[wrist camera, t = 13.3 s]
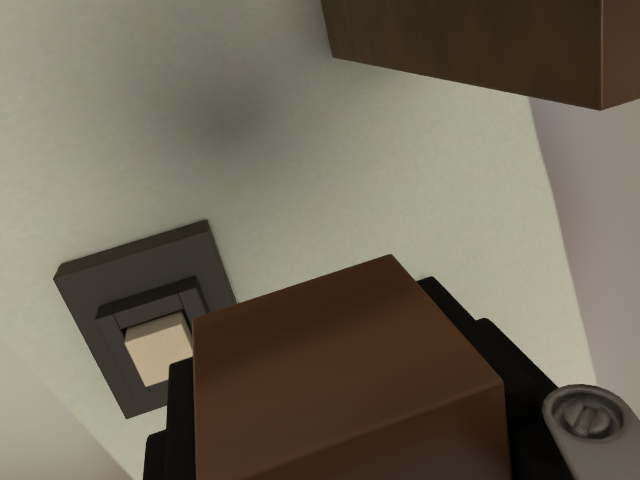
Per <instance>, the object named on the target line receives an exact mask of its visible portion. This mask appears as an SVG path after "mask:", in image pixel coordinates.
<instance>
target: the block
mask: <svg viewBox="0 0 640 480" xmlns="http://www.w3.org/2000/svg"><path fill="white" fill-rule="evenodd" d="M192 344H193V384H194V424H195V463H196V480H513V477H512V466H511V456H510V445H509V435H508V424H507V413H506V403H505V392H504V383H503V380H502V379H501V378H500V376H499V375H498V374H497V373H496V372H495V371H494V370H493V368H492V367H491V366H490V365H489V364H488V363H487V362H486V361H485V359H484V358H483V357H482V356H481V355H480V354H479V353H478V351H477V350H476V349H475V348H474V347H473V346H472V345H471V343H470V342H469V341H468V340H467V339H466V338H465V337H464V336H463V334H462V333H461V332H460V331H459V330H458V329H457V328H456V326H455V325H454V324H453V323H452V322H451V321H450V320H449V319H448V317H447V316H446V315H445V314H444V313H443V312H442V311H441V309H440V308H439V307H438V306H437V305H436V304H435V303H434V302H433V300H432V299H431V298H430V297H429V296H428V295H427V294H426V292H425V291H424V290H423V289H422V288H421V287H420V286H419V285H418V283H417V282H416V281H415V280H414V279H413V278H412V277H411V275H410V274H409V273H408V272H407V271H406V270H405V269H404V267H403V266H402V265H401V264H400V263H399V262H398V261H397V260H396V258H395V257H394V256H393V255H392V254H388V255H385V256H382V257H379V258H376V259H373V260H370V261H367V262H364V263H361V264H358V265H354V266H351V267H348V268H345V269H342V270H339V271H336V272H333V273H330V274H327V275H324V276H321V277H318V278H315V279H312V280H309V281H306V282H302V283H299V284H296V285H293V286H290V287H287V288H284V289H281V290H278V291H275V292H272V293H269V294H266V295H263V296H260V297H257V298H254V299H250V300H247V301H244V302H241V303H238V304H235V305H232V306H229V307H226V308H223V309H220V310H217V311H214V312H211V313H208V314H205V315H202V316H199V317H195V318H194V319H193V320H192Z"/></svg>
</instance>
